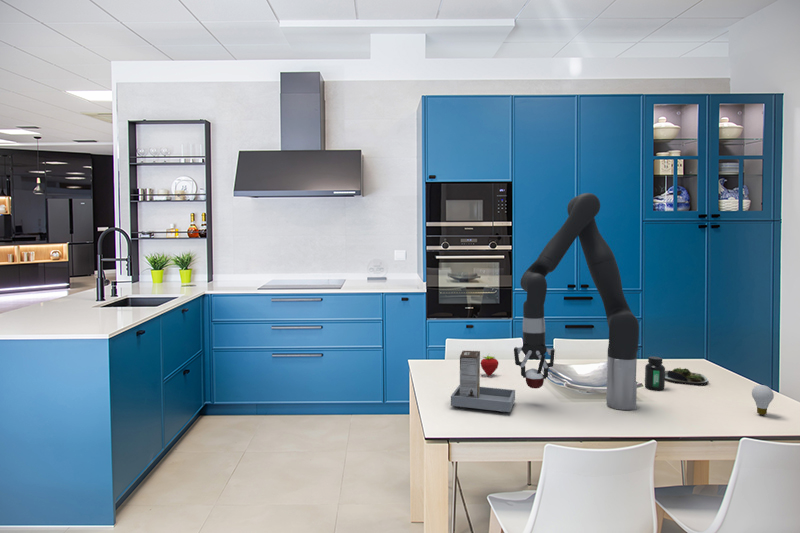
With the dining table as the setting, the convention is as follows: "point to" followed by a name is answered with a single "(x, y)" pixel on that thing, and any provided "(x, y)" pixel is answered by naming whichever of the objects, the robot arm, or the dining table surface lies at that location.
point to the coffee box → (470, 374)
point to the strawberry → (489, 365)
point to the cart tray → (486, 399)
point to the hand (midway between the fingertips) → (534, 377)
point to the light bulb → (762, 398)
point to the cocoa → (535, 375)
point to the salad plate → (685, 377)
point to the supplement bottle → (655, 374)
